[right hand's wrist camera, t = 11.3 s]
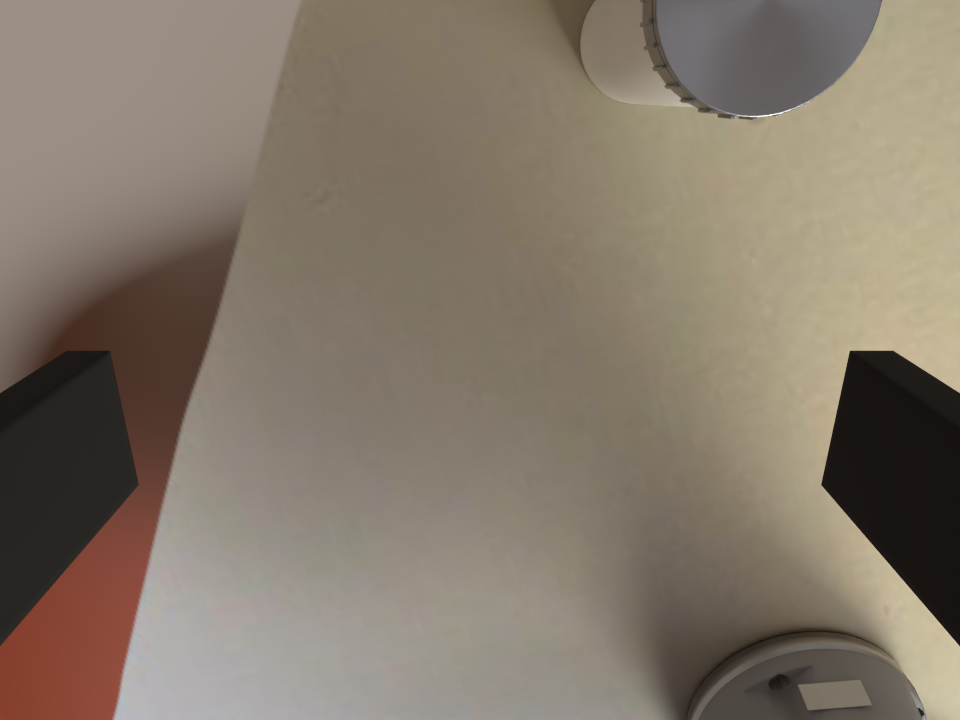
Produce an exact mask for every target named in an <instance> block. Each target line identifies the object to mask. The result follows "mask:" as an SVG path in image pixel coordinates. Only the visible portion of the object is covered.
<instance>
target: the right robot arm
mask: <svg viewBox="0 0 960 720" xmlns="http://www.w3.org/2000/svg"><path fill="white" fill-rule="evenodd" d="M138 485H139V484H138V480H137V475H136V470H135V466H134V461H133V456H132V452H131V447H130V442H129V437H128V433H127V428H126V424H125V419H124V414H123V409H122V405H121V400H120V396H119V391H118V386H117V381H116V377H115V372H114V367H113V363H112V358H111V354H110V351H66V352H64V353H63V354H61V355H60V356H58V357H56V358H55V359H53V360H52V361H50V362H49V363H47V364H45V365H44V366H42V367H41V368H39V369H38V370H36V371H34V372H33V373H31V374H30V375H28V376H27V377H25V378H23V379H22V380H20V381H19V382H17V383H16V384H14V385H12V386H11V387H9V388H8V389H6V390H5V391H3V392H2V393H0V646H1V644H2V643H3V642H4V641H5V640H6V639H7V637H8V636H9V635H10V634H11V633H12V632H13V630H14V629H15V628H16V627H17V626H18V625H19V624H20V622H21V621H22V620H23V619H24V618H25V616H26V615H27V614H28V613H29V612H30V611H31V609H32V608H33V607H34V606H35V605H36V604H37V603H38V601H39V600H40V599H41V598H42V597H43V596H44V594H45V593H46V592H47V591H48V590H49V589H50V587H51V586H52V585H53V584H54V583H55V582H56V580H57V579H58V578H59V577H60V576H61V575H62V573H63V572H64V571H65V570H66V569H67V568H68V566H69V565H70V564H71V563H72V562H73V561H74V559H75V558H76V557H77V556H78V555H79V554H80V553H81V551H82V550H83V549H84V548H85V547H86V545H87V544H88V543H89V542H90V541H91V540H92V539H93V537H94V536H95V535H96V534H97V533H98V532H99V530H100V529H101V528H102V527H103V526H104V524H105V523H106V522H107V521H108V520H109V519H110V518H111V516H112V515H113V514H114V513H115V512H116V511H117V509H118V508H119V507H120V506H121V505H122V504H123V502H124V501H125V500H126V499H127V498H128V497H129V495H130V494H131V493H132V492H133V491H134V490H135V488H136V487H137V486H138ZM821 485H822V486H823V487H824V488H825V490H826V491H827V492H828V493H829V494H830V495H831V497H832V498H833V499H834V500H835V501H836V502H837V504H838V505H839V506H840V507H841V508H842V509H843V511H844V512H845V513H846V514H847V515H848V516H849V518H850V519H851V520H852V521H853V522H854V523H855V525H856V526H857V527H858V528H859V529H860V530H861V532H862V533H863V534H864V535H865V536H866V537H867V539H868V540H869V541H870V542H871V543H872V544H873V546H874V547H875V548H876V549H877V550H878V551H879V553H880V554H881V555H882V556H883V557H884V558H885V559H886V561H887V562H888V563H889V564H890V565H891V566H892V568H893V569H894V570H895V571H896V572H897V573H898V575H899V576H900V577H901V578H902V579H903V580H904V582H905V583H906V584H907V585H908V586H909V587H910V589H911V590H912V591H913V592H914V593H915V594H916V596H917V597H918V598H919V599H920V600H921V601H922V603H923V604H924V605H925V606H926V607H927V608H928V610H929V611H930V612H931V613H932V614H933V615H934V617H935V618H936V619H937V620H938V621H939V622H940V624H941V625H942V626H943V627H944V628H945V629H946V630H947V632H948V633H949V634H950V635H951V636H952V637H953V639H954V640H955V641H956V642H957V643H958V644H959V646H960V393H959V392H957V391H955V390H954V389H952V388H951V387H949V386H948V385H946V384H944V383H943V382H941V381H940V380H938V379H937V378H935V377H933V376H932V375H930V374H929V373H927V372H926V371H924V370H922V369H921V368H919V367H918V366H916V365H915V364H913V363H911V362H910V361H908V360H907V359H905V358H904V357H902V356H900V355H899V354H897V353H896V352H894V351H850V353H849V358H848V363H847V367H846V372H845V377H844V381H843V386H842V391H841V395H840V400H839V405H838V409H837V414H836V419H835V423H834V428H833V433H832V437H831V442H830V447H829V451H828V456H827V461H826V466H825V470H824V475H823V480H822V484H821ZM687 720H927V717H926V714H925V711H924V708H923V705H922V703H921V701H920V699H919V697H918V694H917V692H916V690H915V688H914V687H913V685H912V684H911V682H910V681H909V680H908V678H907V677H906V675H905V674H904V673H903V671H902V670H901V669H900V667H899V666H898V665H897V663H896V662H895V661H894V660H893V659H892V658H891V657H890V656H889V655H888V654H886V653H885V652H884V651H882V650H881V649H879V648H878V647H876V646H874V645H873V644H871V643H869V642H866V641H864V640H862V639H859V638H856V637H852V636H849V635H844V634H839V633H831V632H801V633H793V634H788V635H782V636H778V637H775V638H771V639H768V640H765V641H762V642H759V643H757V644H754V645H752V646H750V647H748V648H746V649H744V650H742V651H740V652H738V653H737V654H735V655H733V656H732V657H730V658H729V659H727V660H726V661H725V662H723V663H722V664H721V665H720V666H718V667H717V668H716V669H715V670H714V671H713V672H712V673H711V674H710V675H709V676H708V677H707V678H706V679H705V681H704V682H703V683H702V684H701V686H700V687H699V689H698V690H697V692H696V694H695V695H694V698H693V700H692V702H691V704H690V707H689V710H688V715H687Z"/></svg>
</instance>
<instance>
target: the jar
mask: <svg viewBox="0 0 960 720" xmlns="http://www.w3.org/2000/svg"><path fill="white" fill-rule="evenodd" d="M642 12H643V2H640V0H595V1H594V3H593V4H592V6H591V7H590V9H589V11H588V13H587V15H586V18H585V20H584V23H583V27H582V31H581V39H580V51H581V58H582V62H583V66H584V68H585V71H586V73H587V75H588V77H589V78H590V80H591V81H592V83H593V84H594V85H595V86H596V87H597V88H598V89H599V90H600V91H601V92H602V93H603V94H605V95H606V96H608V97H610V98H611V99H614V100H616V101H619V102H624V103H632V104H648V105H664V106H681V107H694V106H692V105H691V104H689V103H681V102H680V99H681V98H680V97H679V96H677V95H676V94H675V93H674V92H673V91H672V90H671V89H666V88H665V87H664V86H665V85H666V84H665V82H664V81H663V79H662V78H661V77H660V75H659V74H658V72H657V71H653V69H652V68H653V67H654V65H653V63H652V61H651V58H650V55H649V52H648V50H644V46H646V42H645V37H644V31H643V27H640V23H641V22H643V20H642Z"/></svg>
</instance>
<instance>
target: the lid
mask: <svg viewBox="0 0 960 720" xmlns="http://www.w3.org/2000/svg"><path fill="white" fill-rule="evenodd" d="M640 2H643V12H642V20H643V22H641V23H640V27H643V31H644V37H645V42H646V46H644V50H648V52H649V55H650V58H651V61H652V63H653V65H654V67H653V68H652V69H653V71H657V72H658V74H659V75H660V77H661V78H662V79H663V81H664V82H665V84H666V85H665V86H664V87H665V88H666V89H671V90H672V91H673V92H674V93H675V94H676V95H677V96H679V97H680V98H681V99H680V102H681V103H689V104H691V105H692V106H694V107H696V108H698V112H700V113H710V114H713V113H714V114H718V118H727V119H734V117H735V116H739V119H749V120H756V117H766V116H778V115H779V114H781V113H784V112H787V111H790V110H793V109H796V108H798V107H800V106H802V105H804V104H806V103H808V102H810V101H811V100H813V99H814V98H816V97H818V96H819V95H821V94H822V93H823V92H825V91H826V90H827V89H828V88H830V87H831V86H832V85H833V84H834V83H835V82H836V81H837V80H838V79H839V78H840V77H841V76H842V75H843V74H844V73H845V72H846V71H847V70H848V69H849V67H850V66H851V65H852V64H853V62H854V61H855V60H856V58H857V57H858V55H859V54H860V52H861V51H862V49H863V48H864V46H865V44H866V42H867V40H868V38H869V36H870V34H871V32H872V30H873V28H874V25H875V22H876V20H877V17H878V14H879V10H880V6H881V2H882V0H640Z"/></svg>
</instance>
